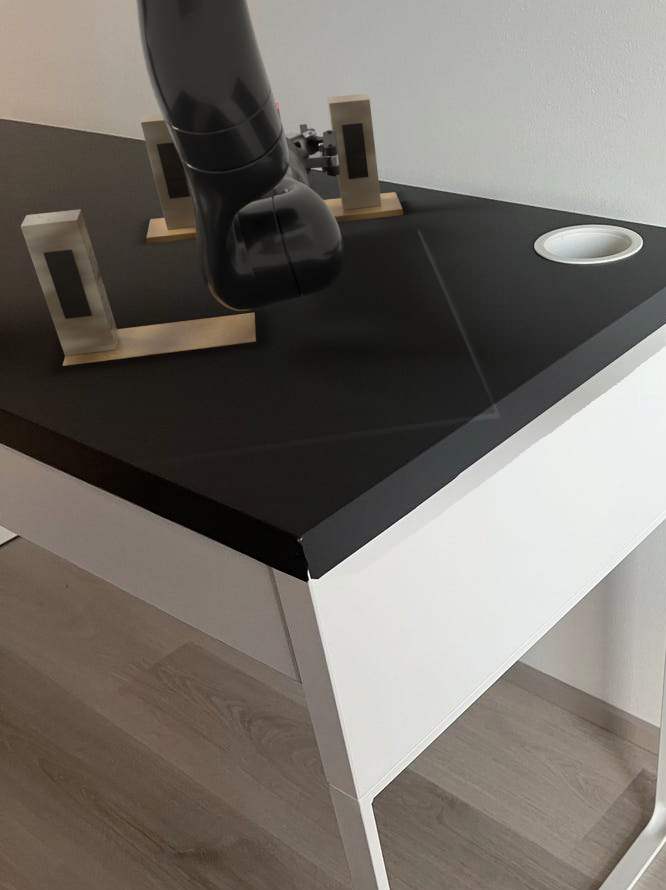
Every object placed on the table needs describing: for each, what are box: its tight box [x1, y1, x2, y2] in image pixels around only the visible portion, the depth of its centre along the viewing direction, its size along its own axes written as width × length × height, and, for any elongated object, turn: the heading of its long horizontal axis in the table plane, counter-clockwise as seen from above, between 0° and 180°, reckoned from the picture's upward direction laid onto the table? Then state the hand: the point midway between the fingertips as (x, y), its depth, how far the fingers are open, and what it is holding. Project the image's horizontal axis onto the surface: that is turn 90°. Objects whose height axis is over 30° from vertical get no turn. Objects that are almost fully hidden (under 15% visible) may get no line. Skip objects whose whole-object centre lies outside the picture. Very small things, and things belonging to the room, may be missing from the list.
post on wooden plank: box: [20, 208, 257, 367], centre depth 77 cm, size 15×6×11 cm, turn 101°
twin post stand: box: [140, 93, 404, 245], centre depth 100 cm, size 26×6×11 cm, turn 101°
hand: (260, 140), depth 97 cm, fingers open, 8 cm apart
